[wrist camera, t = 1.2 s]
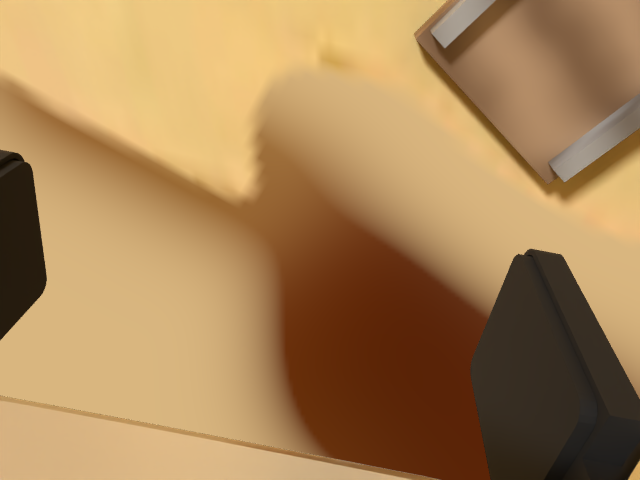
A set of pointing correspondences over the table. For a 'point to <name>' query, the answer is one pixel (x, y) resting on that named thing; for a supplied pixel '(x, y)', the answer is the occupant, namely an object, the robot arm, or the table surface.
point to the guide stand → (545, 73)
